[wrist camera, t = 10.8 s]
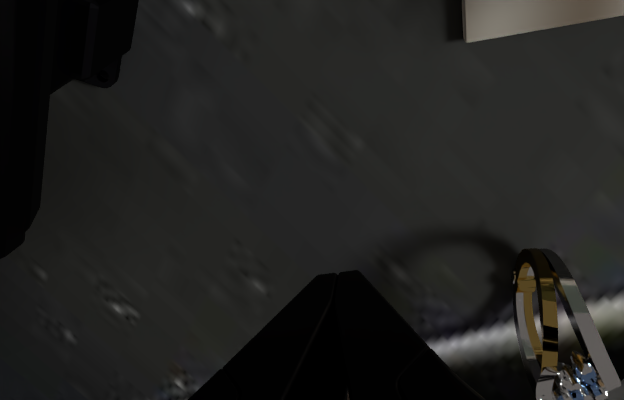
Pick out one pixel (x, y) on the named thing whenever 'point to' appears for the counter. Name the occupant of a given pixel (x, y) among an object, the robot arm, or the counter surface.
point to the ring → (543, 361)
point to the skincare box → (623, 383)
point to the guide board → (530, 15)
